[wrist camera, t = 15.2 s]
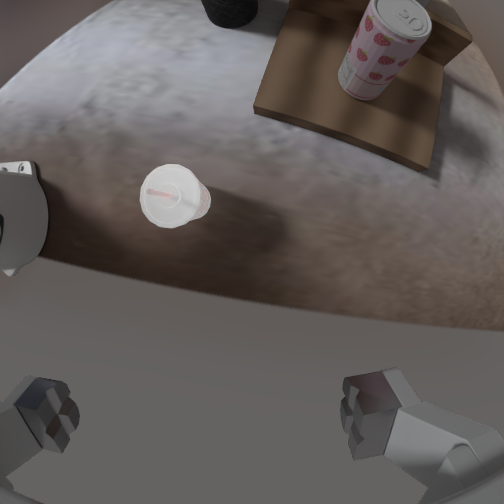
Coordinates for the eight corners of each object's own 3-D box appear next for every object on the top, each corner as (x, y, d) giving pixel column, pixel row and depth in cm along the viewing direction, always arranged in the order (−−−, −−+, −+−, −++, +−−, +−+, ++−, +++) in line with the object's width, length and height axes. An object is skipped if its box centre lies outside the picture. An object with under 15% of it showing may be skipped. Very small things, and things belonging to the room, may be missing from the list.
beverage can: (377, 108, 32) (432, 51, 17) (332, 91, 32) (365, 20, 17) (385, 71, 31) (436, 7, 16) (343, 54, 31) (374, -21, 17)
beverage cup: (182, 234, 38) (134, 243, 24) (160, 191, 38) (105, 178, 24) (226, 211, 37) (199, 206, 23) (203, 166, 37) (166, 139, 23)
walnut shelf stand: (254, 113, 36) (247, 75, 25) (290, 14, 34) (293, -36, 23) (418, 171, 35) (464, 158, 24) (435, 68, 33) (472, 35, 22)
